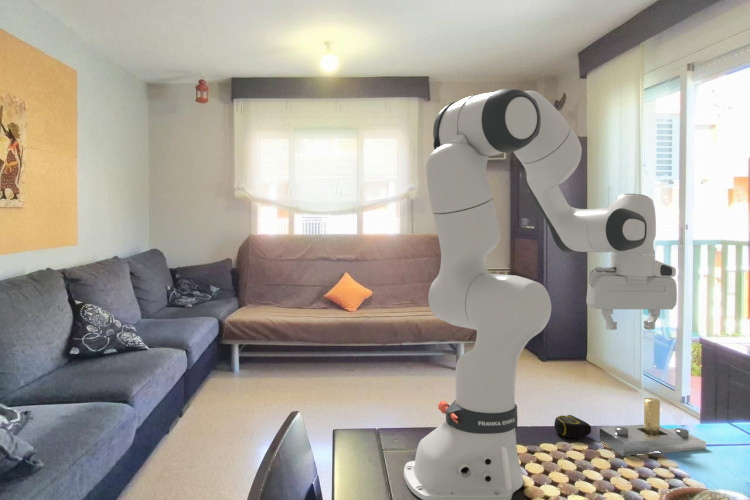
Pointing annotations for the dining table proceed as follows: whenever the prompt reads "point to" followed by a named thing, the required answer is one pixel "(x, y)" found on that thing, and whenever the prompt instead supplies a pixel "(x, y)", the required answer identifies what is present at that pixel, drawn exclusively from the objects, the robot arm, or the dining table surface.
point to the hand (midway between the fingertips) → (630, 329)
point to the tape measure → (571, 426)
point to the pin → (651, 416)
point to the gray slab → (649, 440)
